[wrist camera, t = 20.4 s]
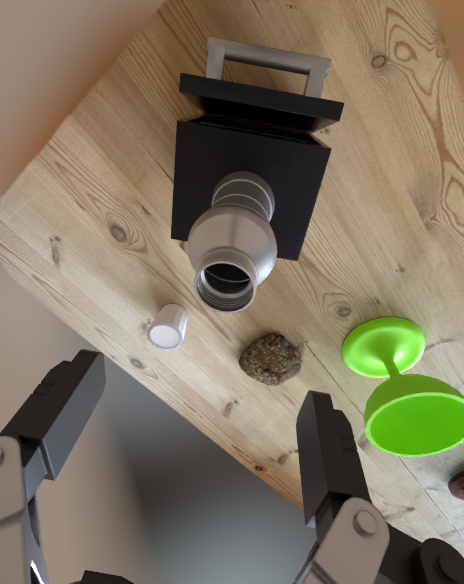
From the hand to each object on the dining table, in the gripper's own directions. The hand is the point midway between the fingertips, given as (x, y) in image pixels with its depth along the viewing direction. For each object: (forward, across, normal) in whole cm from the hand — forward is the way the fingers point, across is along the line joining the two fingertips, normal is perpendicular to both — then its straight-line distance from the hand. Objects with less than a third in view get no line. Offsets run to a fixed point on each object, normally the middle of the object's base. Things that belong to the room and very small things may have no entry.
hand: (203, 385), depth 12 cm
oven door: (+42, 0, -9) cm, 43 cm away
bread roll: (+42, -12, +37) cm, 57 cm away
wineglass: (+42, -33, +29) cm, 61 cm away
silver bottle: (+27, 0, 0) cm, 27 cm away
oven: (+42, 0, 0) cm, 42 cm away
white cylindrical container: (+42, +10, +30) cm, 53 cm away
